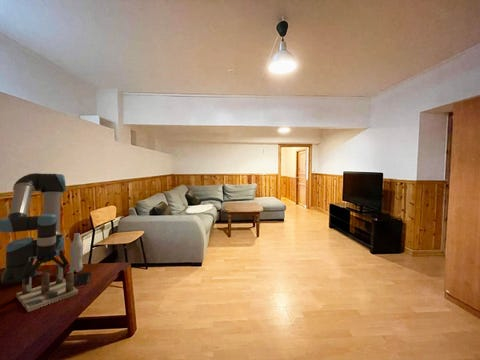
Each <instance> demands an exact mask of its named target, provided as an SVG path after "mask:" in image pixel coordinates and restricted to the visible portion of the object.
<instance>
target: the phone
mask: <svg viewBox="0 0 480 360" xmlns="http://www.w3.org/2000/svg"><path fill="white" fill-rule="evenodd" d="M91 276H92V272H91V271H90V272H84V273H77V274H75V278H74V279H73V287H77V286H76V285H78V286H81V284H84V285H88V284H89V283H90V281H89V280H90V279H91ZM87 283H88V284H87Z"/></svg>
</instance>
